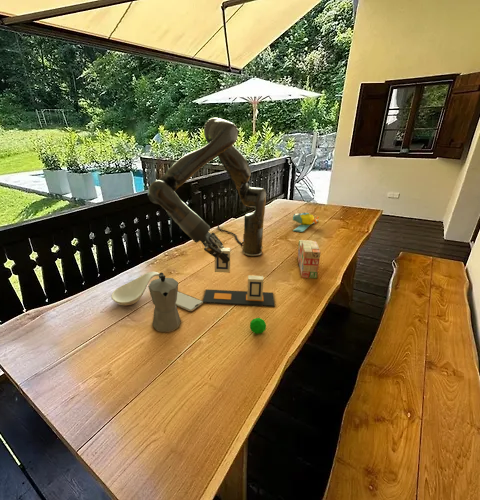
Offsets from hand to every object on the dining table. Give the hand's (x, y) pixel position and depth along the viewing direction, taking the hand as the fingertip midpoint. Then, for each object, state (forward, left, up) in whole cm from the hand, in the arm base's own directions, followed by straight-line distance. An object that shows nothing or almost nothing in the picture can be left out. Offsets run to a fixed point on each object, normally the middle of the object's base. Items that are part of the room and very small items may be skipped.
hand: (228, 259), depth 108 cm
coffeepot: (+5, -26, -16) cm, 31 cm away
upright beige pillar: (+5, +9, -15) cm, 18 cm away
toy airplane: (-57, +83, -16) cm, 102 cm away
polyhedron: (+22, -1, -16) cm, 28 cm away
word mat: (+2, +3, -16) cm, 17 cm away
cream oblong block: (-1, -2, -5) cm, 5 cm away
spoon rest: (-16, -30, -16) cm, 37 cm away
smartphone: (-5, -17, -16) cm, 24 cm away
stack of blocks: (-9, +44, -16) cm, 48 cm away
